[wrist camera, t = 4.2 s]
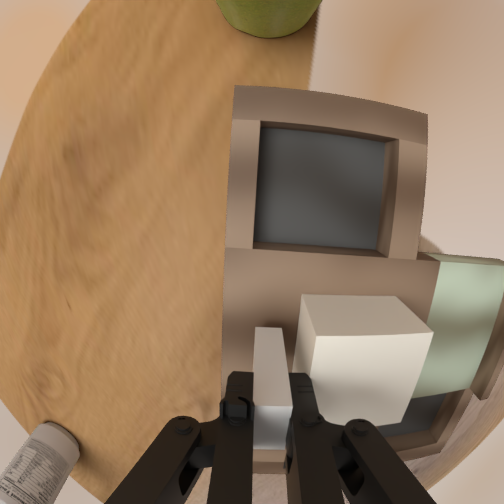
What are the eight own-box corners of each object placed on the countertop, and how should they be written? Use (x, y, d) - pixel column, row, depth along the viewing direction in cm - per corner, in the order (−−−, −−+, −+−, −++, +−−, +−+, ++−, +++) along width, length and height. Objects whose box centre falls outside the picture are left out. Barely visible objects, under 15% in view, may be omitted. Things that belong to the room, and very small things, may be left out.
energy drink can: (36, 427, 25) (-20, 503, 11) (49, 412, 24) (-17, 500, 9) (72, 458, 26) (27, 540, 11) (90, 446, 25) (39, 542, 10)
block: (375, 375, 19) (400, 422, 14) (291, 378, 19) (298, 431, 14) (395, 296, 17) (433, 332, 12) (301, 294, 17) (316, 336, 12)
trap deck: (431, 437, 24) (446, 465, 19) (223, 451, 24) (219, 487, 19) (508, 152, 17) (545, 152, 13) (237, 96, 17) (231, 73, 13)
